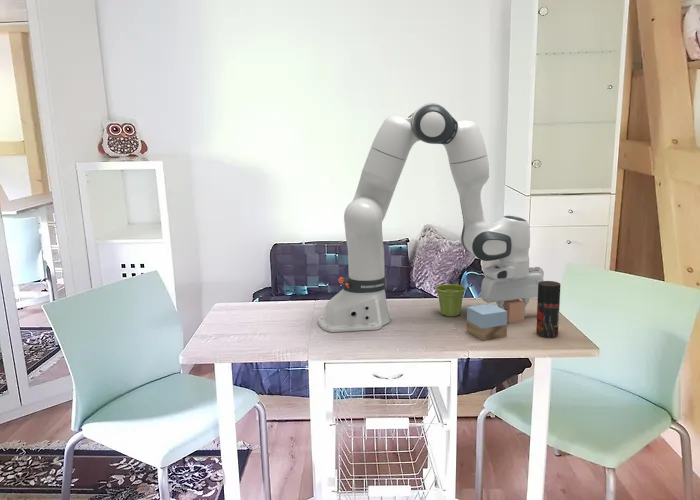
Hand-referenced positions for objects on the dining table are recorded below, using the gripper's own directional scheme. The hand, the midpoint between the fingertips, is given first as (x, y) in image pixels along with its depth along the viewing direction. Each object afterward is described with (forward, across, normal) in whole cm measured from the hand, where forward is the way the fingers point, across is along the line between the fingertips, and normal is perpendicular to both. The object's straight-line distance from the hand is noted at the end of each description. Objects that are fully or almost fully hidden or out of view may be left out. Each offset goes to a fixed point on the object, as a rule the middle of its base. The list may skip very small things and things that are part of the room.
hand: (512, 313), depth 180 cm
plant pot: (+2, +15, -12) cm, 19 cm away
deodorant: (+2, -2, +15) cm, 15 cm away
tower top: (-2, +14, +9) cm, 17 cm away
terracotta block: (+2, 0, 0) cm, 2 cm away
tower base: (+2, +14, +9) cm, 17 cm away
